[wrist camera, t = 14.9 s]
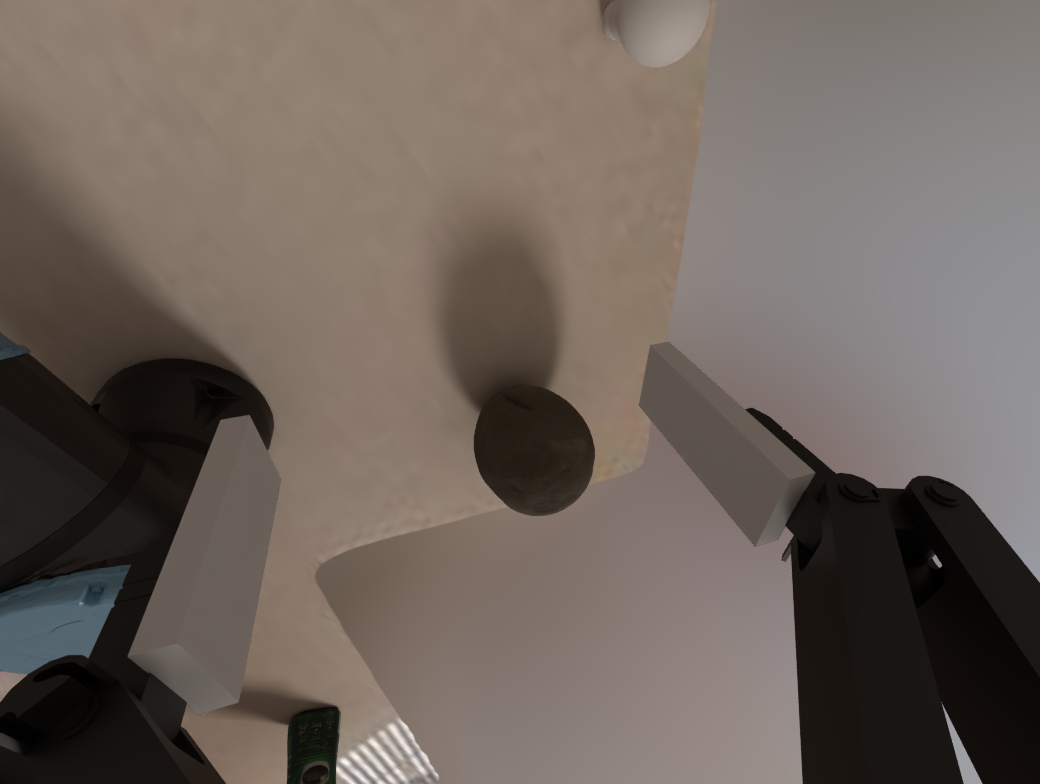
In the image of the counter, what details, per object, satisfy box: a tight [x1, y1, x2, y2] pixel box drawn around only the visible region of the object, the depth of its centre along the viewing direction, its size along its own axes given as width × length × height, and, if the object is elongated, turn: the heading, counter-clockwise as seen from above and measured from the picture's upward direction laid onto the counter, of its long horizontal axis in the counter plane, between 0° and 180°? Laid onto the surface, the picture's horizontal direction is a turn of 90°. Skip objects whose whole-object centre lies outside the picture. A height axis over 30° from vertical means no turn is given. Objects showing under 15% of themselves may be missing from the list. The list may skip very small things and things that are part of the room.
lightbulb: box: [602, 0, 711, 68], centre depth 32 cm, size 6×6×11 cm
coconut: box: [474, 386, 595, 516], centre depth 52 cm, size 14×14×15 cm
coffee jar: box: [287, 709, 341, 784], centre depth 83 cm, size 10×8×19 cm
